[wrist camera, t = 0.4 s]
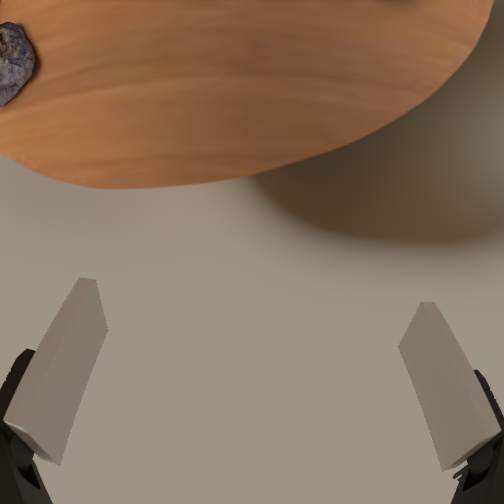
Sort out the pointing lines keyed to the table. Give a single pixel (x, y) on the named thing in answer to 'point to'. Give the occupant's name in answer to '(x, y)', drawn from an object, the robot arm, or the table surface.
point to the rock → (13, 60)
